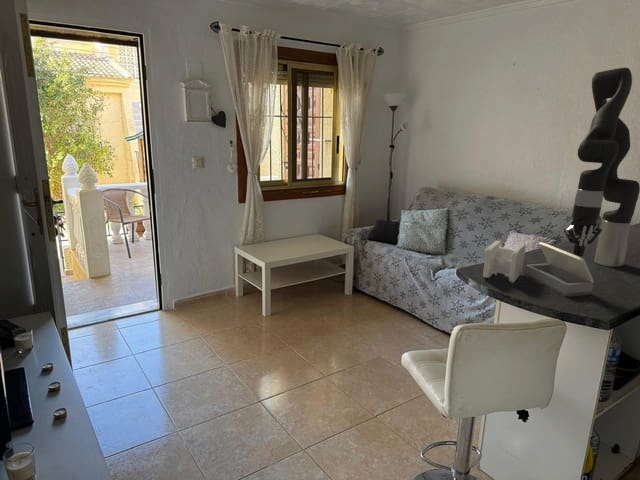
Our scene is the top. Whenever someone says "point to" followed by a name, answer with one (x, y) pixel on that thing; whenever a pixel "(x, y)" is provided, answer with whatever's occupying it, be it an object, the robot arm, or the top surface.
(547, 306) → the top surface
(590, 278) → the duct cover
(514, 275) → the cable organizer
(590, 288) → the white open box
